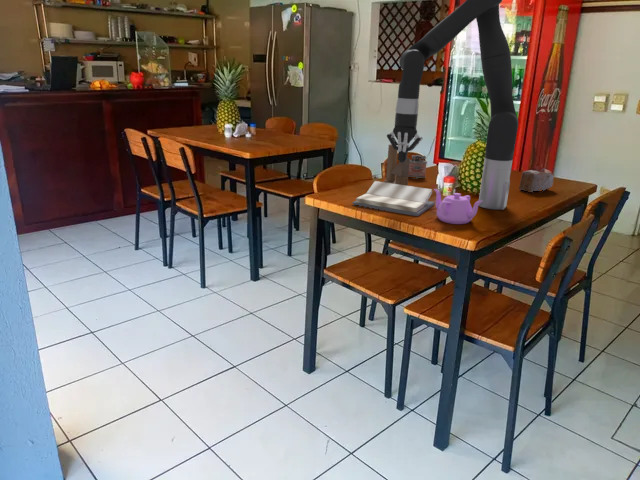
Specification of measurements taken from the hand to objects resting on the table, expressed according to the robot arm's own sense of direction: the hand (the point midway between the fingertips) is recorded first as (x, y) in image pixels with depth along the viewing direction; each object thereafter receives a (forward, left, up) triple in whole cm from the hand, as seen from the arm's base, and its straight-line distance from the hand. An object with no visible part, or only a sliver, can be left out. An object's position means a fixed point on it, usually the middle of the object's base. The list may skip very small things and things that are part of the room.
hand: (402, 162), depth 177 cm
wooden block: (+7, -14, -15) cm, 21 cm away
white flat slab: (0, +9, -15) cm, 17 cm away
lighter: (+9, -45, -15) cm, 48 cm away
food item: (-40, -52, -15) cm, 67 cm away
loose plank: (0, +1, -12) cm, 12 cm away
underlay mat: (0, +5, -15) cm, 15 cm away
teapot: (-23, +11, -15) cm, 30 cm away
